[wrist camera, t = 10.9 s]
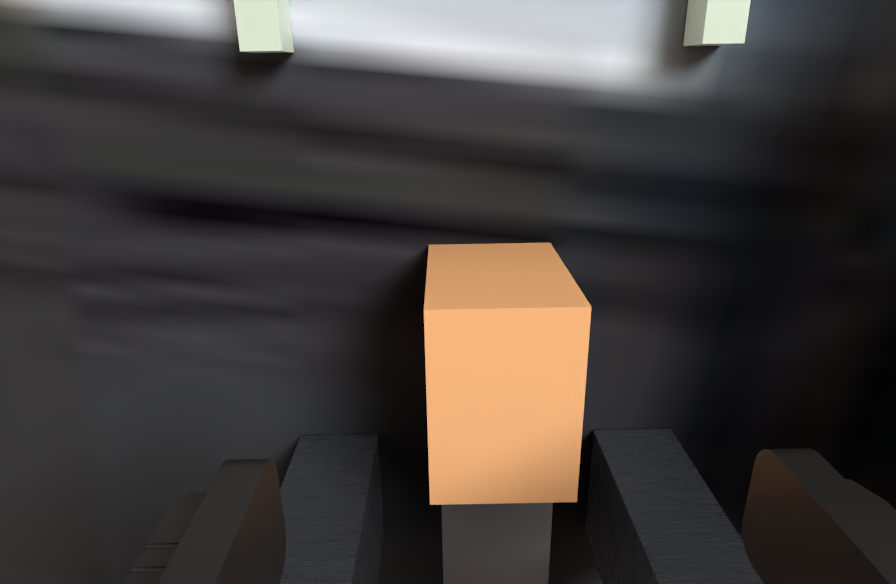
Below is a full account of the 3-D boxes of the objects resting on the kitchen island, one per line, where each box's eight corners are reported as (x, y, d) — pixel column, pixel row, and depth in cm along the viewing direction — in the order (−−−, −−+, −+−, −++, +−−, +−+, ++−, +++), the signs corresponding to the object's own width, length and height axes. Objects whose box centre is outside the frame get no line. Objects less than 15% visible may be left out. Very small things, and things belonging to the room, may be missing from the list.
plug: (533, 607, 22) (558, 753, 17) (439, 609, 22) (438, 756, 17) (549, 242, 17) (591, 306, 12) (428, 244, 17) (423, 309, 12)
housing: (300, 436, 19) (209, 669, 12) (670, 428, 19) (817, 657, 12) (312, 534, 20) (237, 799, 13) (657, 527, 21) (781, 788, 13)
